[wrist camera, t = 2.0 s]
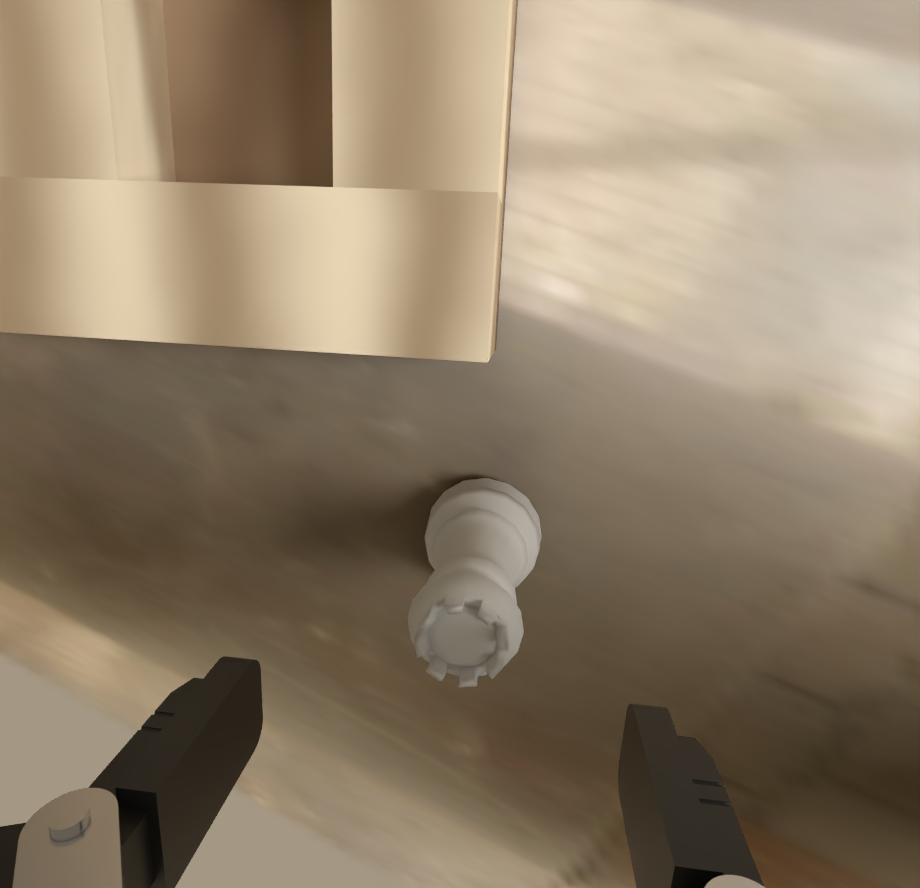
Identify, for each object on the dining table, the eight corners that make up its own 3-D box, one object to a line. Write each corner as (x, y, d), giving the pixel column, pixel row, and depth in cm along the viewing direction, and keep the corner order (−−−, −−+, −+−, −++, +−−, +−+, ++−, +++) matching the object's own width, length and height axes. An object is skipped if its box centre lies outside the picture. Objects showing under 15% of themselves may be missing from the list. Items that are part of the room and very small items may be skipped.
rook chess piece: (427, 574, 24) (376, 708, 16) (430, 469, 23) (377, 560, 15) (537, 584, 23) (539, 728, 16) (546, 478, 22) (553, 577, 15)
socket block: (530, -202, 17) (529, -345, 13) (495, 349, 21) (487, 362, 17) (30, -182, 19) (-100, -305, 15) (88, 325, 23) (-2, 332, 19)
